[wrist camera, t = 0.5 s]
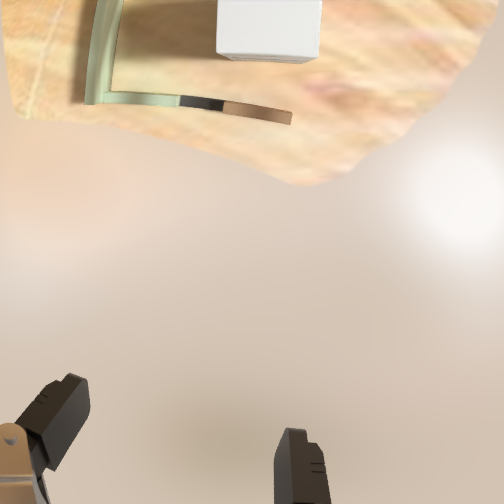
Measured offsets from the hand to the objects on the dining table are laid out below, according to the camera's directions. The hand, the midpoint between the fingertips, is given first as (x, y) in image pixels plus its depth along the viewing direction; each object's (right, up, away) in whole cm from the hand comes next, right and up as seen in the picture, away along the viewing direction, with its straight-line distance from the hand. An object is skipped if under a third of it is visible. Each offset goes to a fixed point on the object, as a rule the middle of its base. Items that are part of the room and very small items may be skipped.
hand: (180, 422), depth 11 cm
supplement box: (+5, +29, +17) cm, 34 cm away
